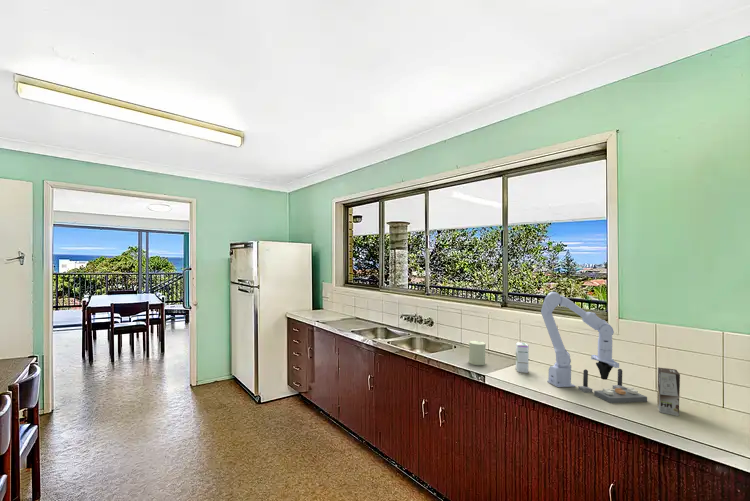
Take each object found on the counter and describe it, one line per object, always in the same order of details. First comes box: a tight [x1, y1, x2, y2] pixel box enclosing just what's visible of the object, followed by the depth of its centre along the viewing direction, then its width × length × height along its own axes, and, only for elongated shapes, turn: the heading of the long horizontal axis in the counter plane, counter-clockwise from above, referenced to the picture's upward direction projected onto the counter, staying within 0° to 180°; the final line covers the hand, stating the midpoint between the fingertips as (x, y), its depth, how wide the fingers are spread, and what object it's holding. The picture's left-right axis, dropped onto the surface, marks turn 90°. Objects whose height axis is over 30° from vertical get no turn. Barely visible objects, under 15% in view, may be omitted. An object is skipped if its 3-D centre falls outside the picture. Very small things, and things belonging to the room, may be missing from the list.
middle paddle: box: [614, 388, 626, 394], centre depth 164 cm, size 2×3×2 cm
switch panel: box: [593, 389, 648, 404], centre depth 164 cm, size 18×9×2 cm, turn 100°
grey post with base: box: [612, 368, 628, 390], centre depth 176 cm, size 4×4×10 cm
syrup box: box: [515, 342, 530, 373], centre depth 201 cm, size 6×6×14 cm
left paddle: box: [602, 387, 614, 395], centre depth 163 cm, size 2×3×2 cm
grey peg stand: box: [577, 369, 593, 393], centre depth 173 cm, size 4×4×10 cm
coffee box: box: [656, 367, 681, 417], centre depth 152 cm, size 9×6×16 cm
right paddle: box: [626, 387, 639, 394], centre depth 165 cm, size 2×3×2 cm
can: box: [468, 340, 487, 366], centre depth 214 cm, size 9×9×12 cm
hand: (604, 379), depth 173 cm, fingers closed
